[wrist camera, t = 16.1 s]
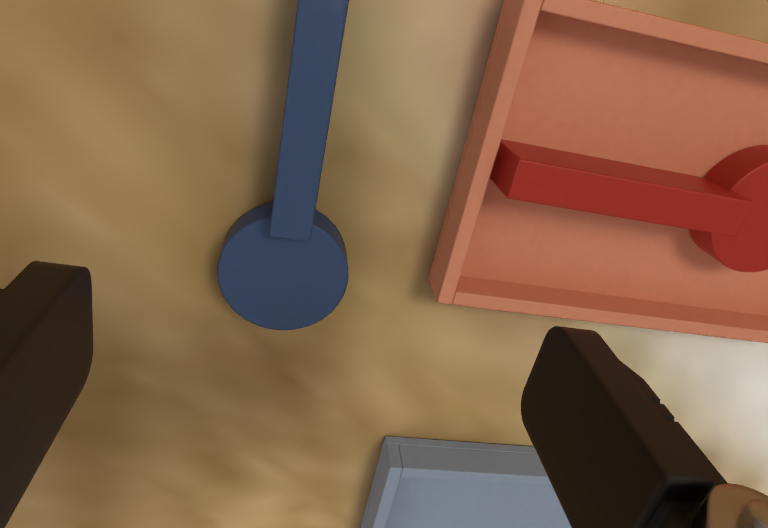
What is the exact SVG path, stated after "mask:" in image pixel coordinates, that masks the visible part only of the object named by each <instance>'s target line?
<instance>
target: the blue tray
mask: <svg viewBox="0 0 768 528" xmlns="http://www.w3.org/2000/svg"><path fill="white" fill-rule="evenodd" d="M360 528H571V525H570V523H569V521H568V519H567V517H566V515H565V512H564V510H563V508H562V506H561V504H560V502H559V499H558V497H557V495H556V493H555V491H554V489H553V486H552V484H551V482H550V480H549V478H548V476H547V474H546V471H545V469H544V467H543V465H542V463H541V461H540V458H539V456H538V454H537V452H536V450H535V448H534V447H531V446H517V445H503V444H489V443H476V442H462V441H448V440H434V439H420V438H406V437H392V436H385V439H384V443H383V446H382V450H381V454H380V457H379V461H378V465H377V468H376V472H375V476H374V479H373V483H372V487H371V490H370V494H369V498H368V501H367V505H366V509H365V512H364V516H363V520H362V523H361V527H360Z"/></svg>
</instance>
